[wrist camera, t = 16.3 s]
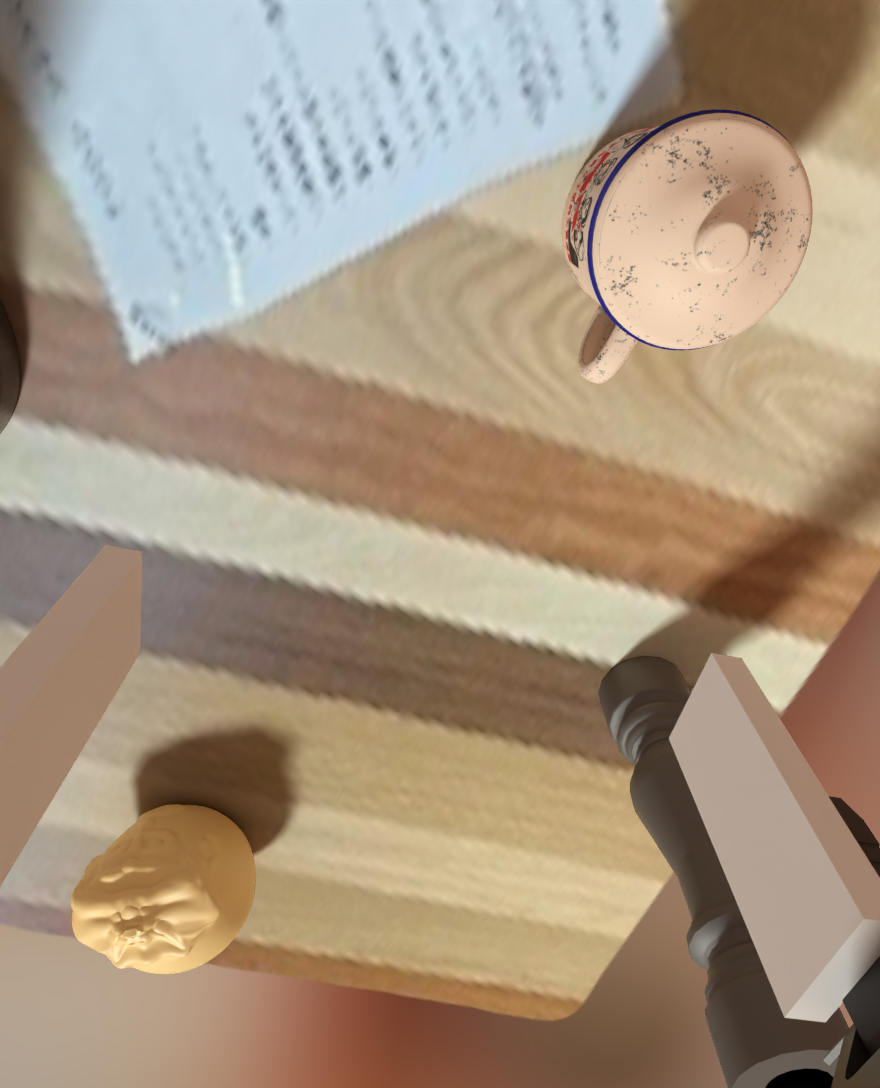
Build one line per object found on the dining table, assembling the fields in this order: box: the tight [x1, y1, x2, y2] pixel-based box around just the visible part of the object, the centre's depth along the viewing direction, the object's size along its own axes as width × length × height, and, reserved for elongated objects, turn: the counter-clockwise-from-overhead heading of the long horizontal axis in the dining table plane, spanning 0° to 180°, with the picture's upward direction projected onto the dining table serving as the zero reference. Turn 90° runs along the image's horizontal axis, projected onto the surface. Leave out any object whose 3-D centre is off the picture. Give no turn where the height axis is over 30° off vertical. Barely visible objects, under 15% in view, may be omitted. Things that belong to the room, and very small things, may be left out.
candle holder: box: [599, 656, 849, 1088], centre depth 40 cm, size 6×6×25 cm
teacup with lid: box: [562, 110, 812, 384], centre depth 32 cm, size 12×9×12 cm
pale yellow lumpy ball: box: [71, 804, 256, 974], centre depth 53 cm, size 12×12×11 cm
